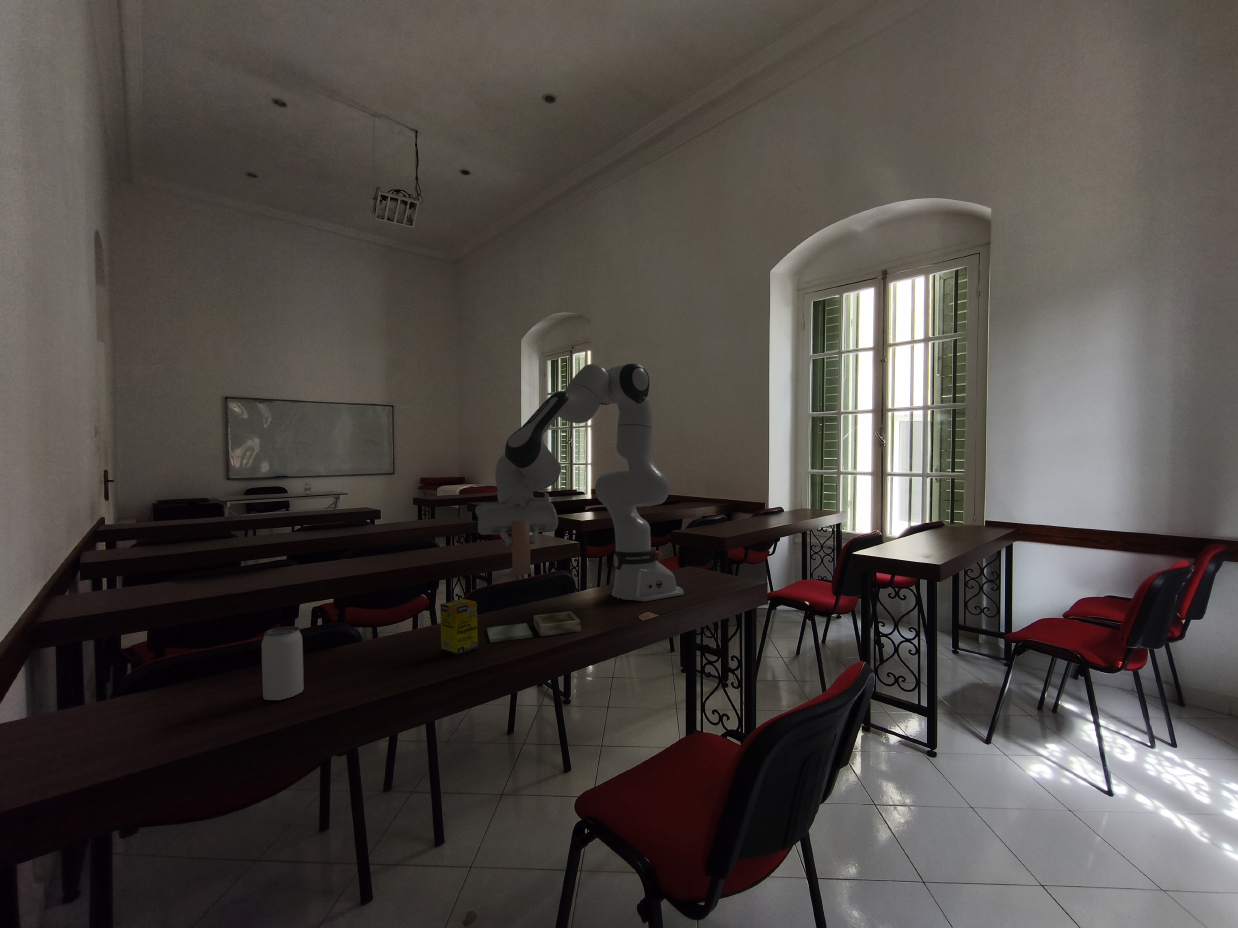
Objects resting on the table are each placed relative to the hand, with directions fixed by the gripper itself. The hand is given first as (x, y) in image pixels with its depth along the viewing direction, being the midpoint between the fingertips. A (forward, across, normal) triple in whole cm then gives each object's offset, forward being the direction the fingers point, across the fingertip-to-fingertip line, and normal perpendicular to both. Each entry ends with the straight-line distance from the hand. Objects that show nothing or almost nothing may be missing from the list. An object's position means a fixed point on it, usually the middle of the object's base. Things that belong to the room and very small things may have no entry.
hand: (521, 543), depth 136 cm
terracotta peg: (+5, 0, +6) cm, 7 cm away
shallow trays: (+15, +3, +16) cm, 22 cm away
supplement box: (+21, -15, +11) cm, 28 cm away
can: (+30, -47, +3) cm, 56 cm away
